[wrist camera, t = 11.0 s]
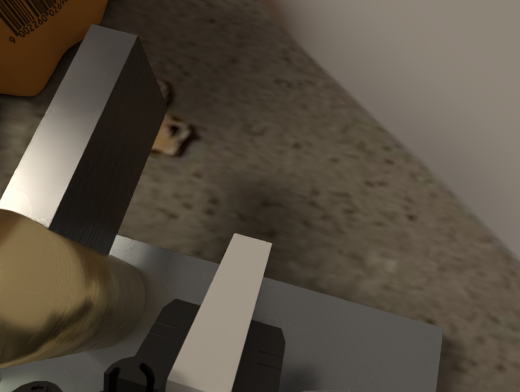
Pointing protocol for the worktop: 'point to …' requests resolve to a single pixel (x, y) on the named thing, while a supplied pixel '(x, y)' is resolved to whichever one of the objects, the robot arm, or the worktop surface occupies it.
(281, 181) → the worktop surface
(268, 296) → the plate
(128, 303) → the fixed knob
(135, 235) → the worktop surface
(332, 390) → the brass knob
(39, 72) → the coffee package
